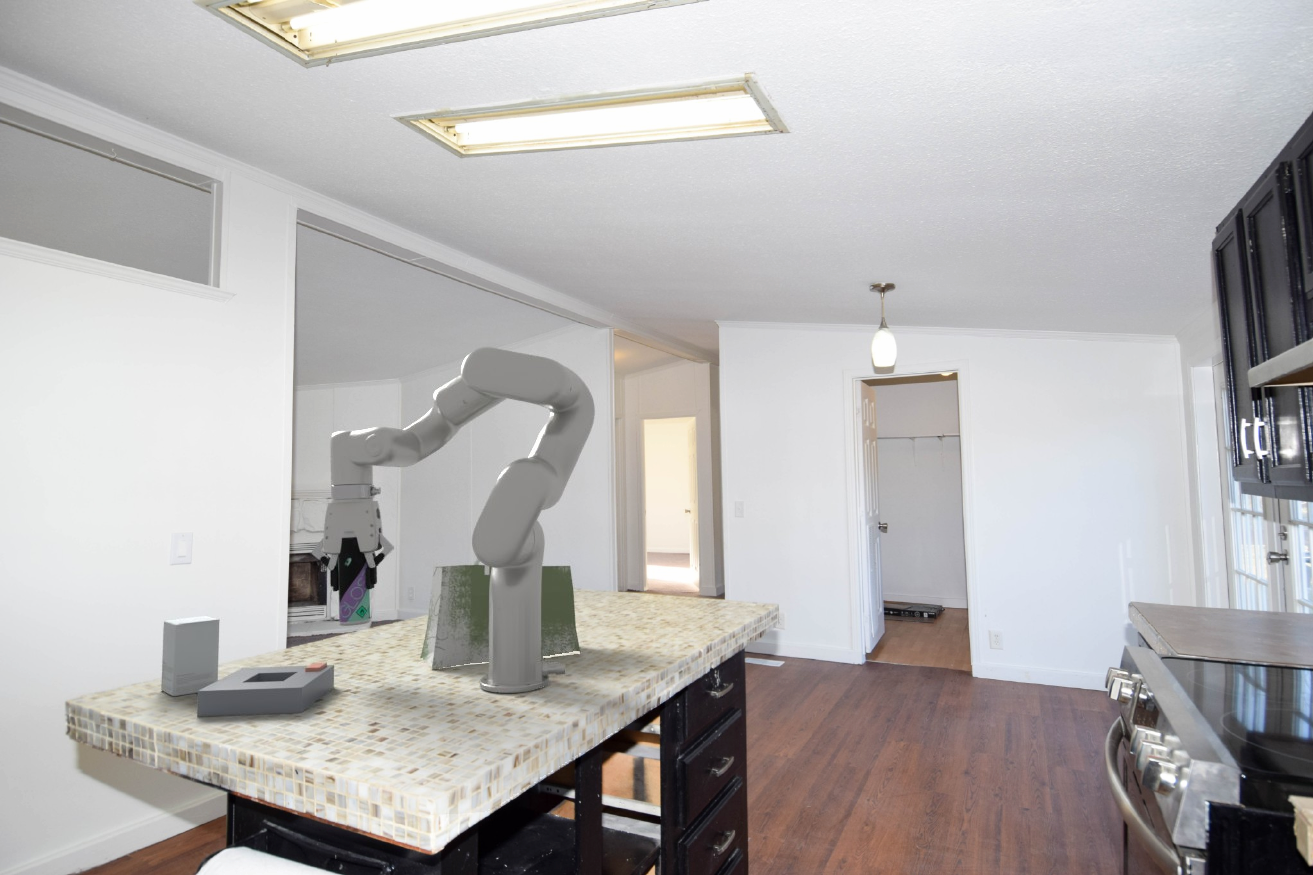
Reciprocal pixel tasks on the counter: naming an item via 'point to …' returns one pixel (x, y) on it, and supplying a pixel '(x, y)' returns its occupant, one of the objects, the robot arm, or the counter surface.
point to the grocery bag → (465, 615)
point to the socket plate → (266, 690)
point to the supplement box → (189, 654)
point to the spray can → (352, 583)
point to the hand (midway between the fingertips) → (354, 588)
